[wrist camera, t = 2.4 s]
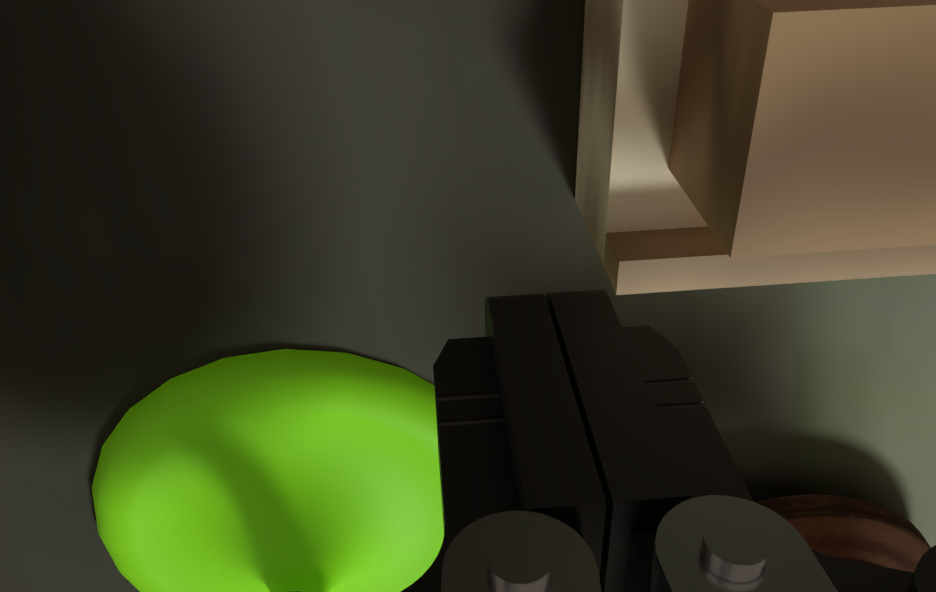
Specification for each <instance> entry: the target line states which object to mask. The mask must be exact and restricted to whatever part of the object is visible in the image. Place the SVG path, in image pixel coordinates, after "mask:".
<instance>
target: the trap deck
mask: <svg viewBox="0 0 936 592" xmlns="http://www.w3.org/2000/svg"><path fill="white" fill-rule="evenodd" d="M687 8H688V0H585V16H584V36H583V55H582V74H581V94H580V113H579V132H578V151H577V171H576V190H575V201H576V203H577V205H578V208H579V210H580V212H581V215H582V217H583V219H584V222H585V224H586V226H587V229H588V231H589V233H590V235H591V238H592V240H593V242H594V245H595V247H596V249H597V252H598V254H599V256H600V259H601V261H602V263H603V266H604V268H605V270H606V273H607V275H608V277H609V280H610V282H611V284H612V286H613V289H614V291H615V293H616V295H625V294H640V293H655V292H670V291H685V290H699V289H714V288H729V287H744V286H759V285H774V284H789V283H804V282H818V281H833V280H848V279H863V278H878V277H893V276H908V275H923V274H936V245H924V246H909V247H893V248H878V249H863V250H847V251H832V252H817V253H801V254H786V255H771V256H755V257H740V258H730V257H729V255H728V254H727V252H726V251H725V250H724V248H723V247H722V245H721V244H720V242H719V241H718V239H717V238H716V237H715V235H714V234H713V232H712V231H711V229H710V228H709V226H708V225H707V224H706V222H705V221H704V219H703V218H702V216H701V215H700V213H699V212H698V211H697V209H696V208H695V206H694V205H693V203H692V202H691V201H690V199H689V198H688V196H687V195H686V193H685V192H684V190H683V189H682V188H681V186H680V185H679V183H678V182H677V180H676V179H675V177H674V176H673V175H672V173H671V172H670V170H669V160H670V152H671V144H672V135H673V127H674V118H675V110H676V101H677V93H678V84H679V76H680V68H681V59H682V51H683V42H684V34H685V25H686V17H687Z"/></svg>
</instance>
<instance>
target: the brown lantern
mask: <svg viewBox="0 0 936 592" xmlns="http://www.w3.org/2000/svg"><path fill="white" fill-rule="evenodd" d="M755 503H757V504H760V505H762V506H764V507H767V508H768V509H770V510H772V511H773V512H775V513H777V514H779V515H780V516H781V517H783V518H784V519H785V520H786V521H788V522H789V523H790V524H791V525H792V526H793V527H794V528H795V529H796V530H797V531H798V532H799V533H800V534H801V536H802V537H803V538H804V540H805V541H806V543H807V544H808V546H809V547H810V549H812V550H815V551H817V552H820V553H823V554H826V555H829V556H832V557H836V558H841V559H845V560H850V561H855V562H860V563H866V564H871V565H877V566H882V567H887V568H893V569H898V570H903V571H909V572H914V571H915V569H916V566H917V564H918V562H919V560H920V559H921V557H922V555H923V554H924V553H925V552H926V551H927V550H928V549H930V546H929V545H928V543H927V541H926V540H925V538H924V537H923V535H922V534H921V533H920V531H919V530H918V529H917V528H916V527H915V526H914V525H913V524H912V523H911V522H909V521H908V520H907V519H906V518H904V517H903V516H901V515H900V514H898V513H896V512H895V511H893V510H891V509H889V508H886V507H884V506H882V505H879V504H876V503H873V502H870V501H867V500H862V499H858V498H853V497H847V496H838V495H821V494H813V495H794V496H785V497H777V498H772V499H766V500H761V501H756V502H755Z"/></svg>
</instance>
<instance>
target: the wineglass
mask: <svg viewBox="0 0 936 592" xmlns="http://www.w3.org/2000/svg"><path fill="white" fill-rule="evenodd" d="M92 494H93V501H94V508H95V515H96V522H97V529H98V533H99V536H100V537H101V539H102V541H103V543H104V545H105V546H106V548H107V550H108V552H109V554H110V556H111V557H112V559H113V561H114V563H115V565H116V567H117V568H118V570H119V571H120V573H121V574H122V575H123V576H124V577H125V578H126V579H127V580H128V581H129V582H130V583H131V584H133V585H134V586H135V587H136V588H137V589H138V590H139V591H140V592H296V591H299V592H401V591H402V590H404V589H405V588H407V587H408V586H410V585H412V584H413V583H414V582H415V581H416V580H418V579H419V578H420V577H421V576H422V575H423V574H424V573H425V572H426V571H427V570H428V568H429V567H430V566H431V565H432V563H433V562H434V560H435V559H436V557H437V555H438V553H439V551H440V548H441V546H442V543H443V538H444V525H443V511H442V497H441V483H440V470H439V455H438V438H437V421H436V404H435V387H434V385H433V384H431V383H429V382H428V381H426V380H424V379H422V378H420V377H418V376H417V375H415V374H413V373H411V372H409V371H408V370H406V369H403V368H400V367H396V366H393V365H389V364H386V363H382V362H378V361H375V360H371V359H368V358H364V357H361V356H357V355H353V354H350V353H343V352H327V351H311V350H296V349H281V350H274V351H267V352H260V353H254V354H247V355H240V356H233V357H226V358H222V359H220V360H217V361H215V362H212V363H210V364H207V365H204V366H202V367H199V368H197V369H194V370H192V371H189V372H186V373H184V374H181V375H179V376H176V377H174V378H171V379H169V380H168V381H167V382H165V383H164V384H163V385H161V386H160V387H158V388H157V389H156V390H154V391H153V392H152V393H150V394H149V395H148V396H146V397H145V398H143V399H142V400H141V401H139V402H138V403H137V404H135V405H134V406H133V407H131V408H130V409H129V410H128V411H127V412H126V414H125V415H124V417H123V418H122V419H121V421H120V422H119V423H118V425H117V426H116V428H115V429H114V430H113V432H112V433H111V435H110V436H109V437H108V439H107V440H106V442H105V443H104V444H103V446H102V449H101V453H100V457H99V460H98V464H97V468H96V472H95V476H94V480H93V484H92Z"/></svg>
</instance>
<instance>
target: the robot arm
mask: <svg viewBox="0 0 936 592" xmlns="http://www.w3.org/2000/svg"><path fill="white" fill-rule="evenodd" d="M485 332H486V337H476V338H461V339H448V341H447V342H446V344H445V346H444V348H443V350H442V351H441V353H440V355H439V357H438V358H437V360H436V362H435V364H434V366H433V370H434V387H435V404H436V421H437V438H438V455H439V470H440V483H441V497H442V511H443V525H444V538H443V543H442V546H441V548H440V551H439V553H438V555H437V557H436V559H435V560H434V562H433V563H432V565H431V566H430V567H429V568H428V570H427V571H426V572H425V573H424V574H423V575H422V576H421V577H420V578H419V579H418V580H416V581H415V582H414V583H413V584H412V585H410V586H408V587H407V588H405V589H404V590H402V591H401V592H936V545H935V546H933V547H932V548H930V549H928V550H927V551H926V552H925V553H924V554H923V555H922V557H921V559H920V560H919V562H918V564H917V566H916V569H915V571H914V572H909V571H903V570H898V569H893V568H887V567H882V566H877V565H871V564H866V563H860V562H855V561H850V560H845V559H841V558H836V557H832V556H829V555H826V554H823V553H820V552H817V551H815V550H812V549H810V547H809V546H808V544H807V543H806V541H805V540H804V538H803V537H802V536H801V534H800V533H799V532H798V531H797V530H796V529H795V528H794V527H793V526H792V525H791V524H790V523H789V522H788V521H786V520H785V519H784V518H783V517H781V516H780V515H779V514H777V513H775V512H773V511H772V510H770V509H768V508H767V507H764V506H762V505H760V504H757V503H755V502H754V501H753V499H752V498H751V496H750V494H749V492H748V490H747V488H746V486H745V484H744V482H743V480H742V478H741V476H740V474H739V472H738V470H737V468H736V466H735V464H734V462H733V460H732V458H731V456H730V454H729V452H728V450H727V448H726V446H725V444H724V442H723V440H722V438H721V436H720V434H719V432H718V430H717V428H716V426H715V424H714V422H713V420H712V418H711V416H710V414H709V412H708V410H707V408H704V405H703V400H702V398H701V396H700V394H699V392H698V390H697V388H696V385H695V383H693V384H692V377H691V375H690V373H689V371H688V369H687V367H686V365H685V363H684V361H683V359H682V357H681V355H680V353H679V351H678V349H677V348H675V347H674V346H673V345H672V344H670V343H669V342H668V341H667V340H666V339H664V338H663V337H662V336H661V335H659V334H658V333H657V332H656V331H655V330H653V329H652V328H651V327H650V326H638V327H623V328H621V325H620V323H619V320H618V318H617V316H616V313H615V311H614V308H613V306H612V304H611V301H610V299H609V297H608V294H607V293H606V291H605V290H590V291H574V292H558V293H547V294H546V296H544V294H530V295H515V296H499V297H486V302H485ZM296 592H299V591H296Z"/></svg>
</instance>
